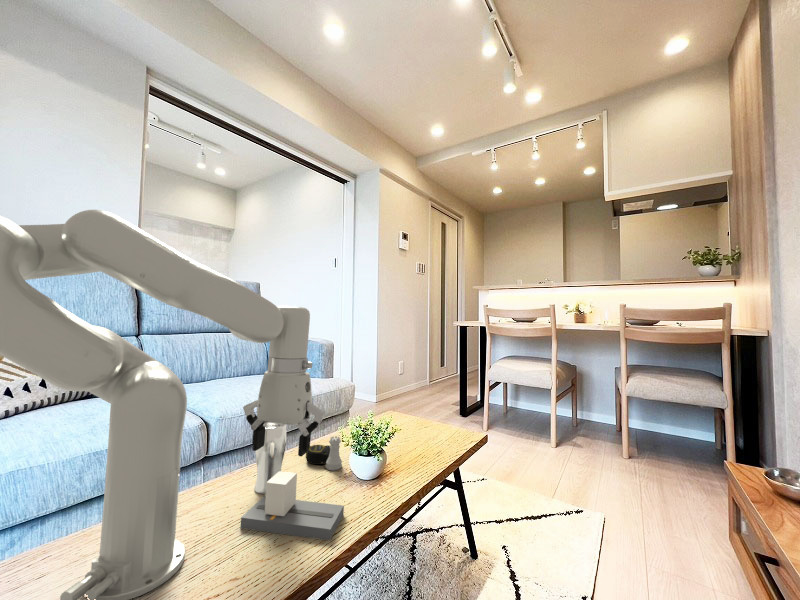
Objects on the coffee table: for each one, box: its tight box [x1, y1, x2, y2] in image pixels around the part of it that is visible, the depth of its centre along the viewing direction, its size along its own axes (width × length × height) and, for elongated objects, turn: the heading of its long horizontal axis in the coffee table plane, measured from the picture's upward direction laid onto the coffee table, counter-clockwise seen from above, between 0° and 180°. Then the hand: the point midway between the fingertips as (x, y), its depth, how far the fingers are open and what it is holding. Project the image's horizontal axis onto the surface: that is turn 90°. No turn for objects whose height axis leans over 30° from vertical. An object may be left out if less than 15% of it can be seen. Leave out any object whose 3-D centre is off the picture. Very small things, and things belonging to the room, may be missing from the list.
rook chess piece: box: [325, 435, 343, 472], centre depth 92 cm, size 4×4×8 cm
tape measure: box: [305, 444, 330, 465], centre depth 95 cm, size 7×7×4 cm
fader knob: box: [265, 470, 298, 516], centre depth 68 cm, size 5×4×6 cm
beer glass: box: [254, 422, 287, 495], centre depth 80 cm, size 7×7×15 cm
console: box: [240, 495, 345, 541], centre depth 67 cm, size 8×18×2 cm, turn 82°
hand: (280, 451), depth 68 cm, fingers open, 9 cm apart
